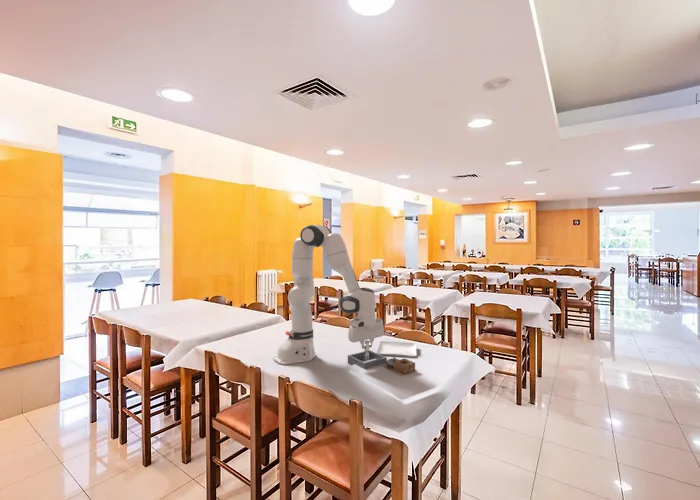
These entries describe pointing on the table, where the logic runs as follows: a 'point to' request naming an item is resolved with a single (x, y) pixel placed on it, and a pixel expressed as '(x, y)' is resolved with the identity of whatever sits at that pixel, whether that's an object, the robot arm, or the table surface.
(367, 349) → the lock pin
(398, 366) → the pulley bracket
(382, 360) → the tray
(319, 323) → the table surface
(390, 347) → the salad plate
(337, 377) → the table surface
